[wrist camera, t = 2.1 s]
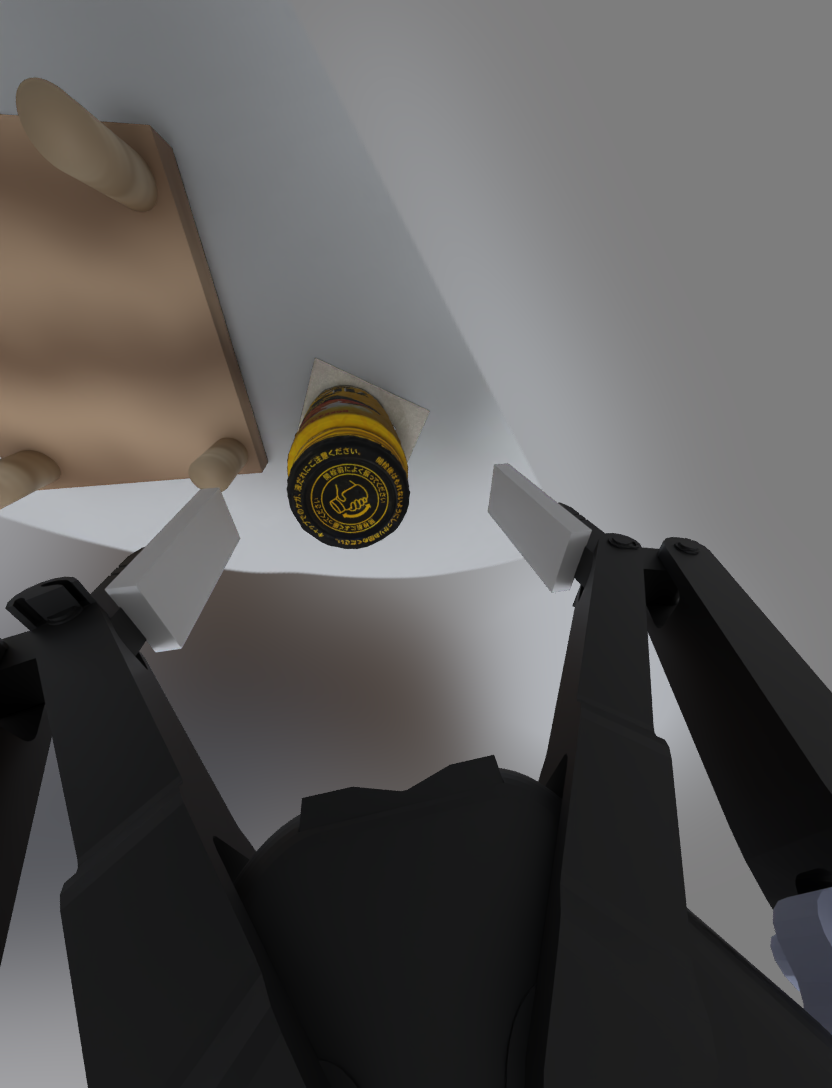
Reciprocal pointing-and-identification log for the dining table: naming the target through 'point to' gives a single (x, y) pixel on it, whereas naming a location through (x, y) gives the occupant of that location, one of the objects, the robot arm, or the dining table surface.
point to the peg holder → (108, 312)
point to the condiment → (351, 459)
